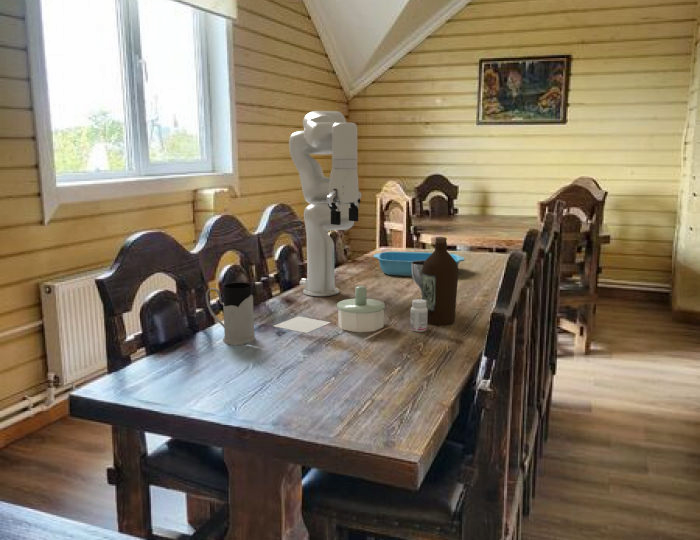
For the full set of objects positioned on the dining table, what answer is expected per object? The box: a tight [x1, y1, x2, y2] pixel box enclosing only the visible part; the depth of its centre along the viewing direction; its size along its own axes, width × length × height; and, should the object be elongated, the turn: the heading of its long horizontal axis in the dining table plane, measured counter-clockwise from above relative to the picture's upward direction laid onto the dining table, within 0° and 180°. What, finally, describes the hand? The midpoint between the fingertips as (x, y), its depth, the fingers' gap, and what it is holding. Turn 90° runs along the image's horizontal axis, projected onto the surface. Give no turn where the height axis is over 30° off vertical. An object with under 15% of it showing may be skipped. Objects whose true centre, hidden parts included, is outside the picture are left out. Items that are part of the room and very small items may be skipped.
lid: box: [336, 285, 386, 313], centre depth 175 cm, size 14×14×6 cm
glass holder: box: [205, 282, 257, 346], centre depth 165 cm, size 9×14×15 cm, turn 70°
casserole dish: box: [373, 251, 465, 277], centre depth 252 cm, size 37×22×7 cm, turn 83°
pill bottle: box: [409, 298, 428, 333], centre depth 174 cm, size 5×5×8 cm
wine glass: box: [411, 260, 425, 300], centre depth 195 cm, size 8×8×15 cm
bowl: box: [337, 308, 385, 333], centre depth 176 cm, size 12×12×6 cm
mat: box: [273, 315, 332, 334], centre depth 178 cm, size 12×12×1 cm
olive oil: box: [422, 236, 460, 326], centre depth 181 cm, size 11×11×25 cm
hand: (344, 222), depth 186 cm, fingers open, 9 cm apart
